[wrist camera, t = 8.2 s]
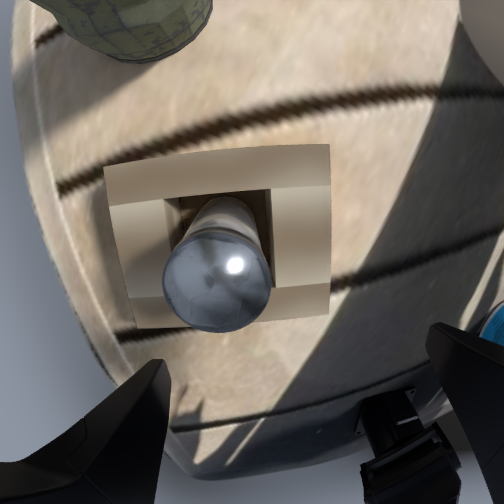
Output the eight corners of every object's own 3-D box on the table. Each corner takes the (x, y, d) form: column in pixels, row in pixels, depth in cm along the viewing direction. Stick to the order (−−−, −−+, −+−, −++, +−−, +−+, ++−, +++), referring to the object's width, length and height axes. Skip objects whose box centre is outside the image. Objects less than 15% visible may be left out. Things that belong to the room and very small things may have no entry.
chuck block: (314, 286, 22) (328, 314, 18) (152, 298, 21) (137, 328, 18) (311, 144, 18) (329, 144, 14) (128, 162, 18) (103, 167, 14)
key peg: (258, 253, 20) (273, 328, 12) (197, 258, 20) (173, 335, 12) (254, 192, 19) (268, 229, 11) (190, 198, 19) (152, 239, 11)
